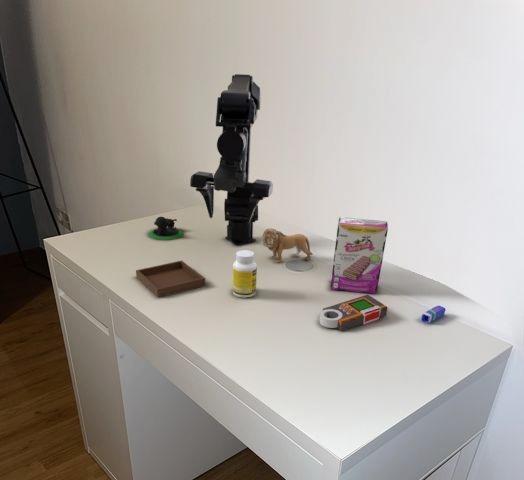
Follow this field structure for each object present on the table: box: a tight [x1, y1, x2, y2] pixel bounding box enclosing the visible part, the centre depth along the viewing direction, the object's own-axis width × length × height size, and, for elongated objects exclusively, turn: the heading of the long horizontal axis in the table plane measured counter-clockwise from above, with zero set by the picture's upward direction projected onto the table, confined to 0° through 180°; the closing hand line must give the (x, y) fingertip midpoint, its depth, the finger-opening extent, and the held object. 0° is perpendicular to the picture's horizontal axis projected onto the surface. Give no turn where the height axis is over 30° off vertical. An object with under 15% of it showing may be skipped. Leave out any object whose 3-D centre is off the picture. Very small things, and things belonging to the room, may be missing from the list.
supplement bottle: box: [232, 249, 258, 299], centre depth 123 cm, size 5×5×10 cm
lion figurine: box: [261, 228, 313, 263], centre depth 141 cm, size 15×5×9 cm, turn 113°
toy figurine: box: [148, 216, 184, 241], centre depth 155 cm, size 10×10×6 cm
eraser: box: [421, 305, 446, 324], centre depth 117 cm, size 2×6×2 cm, turn 130°
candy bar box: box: [330, 216, 389, 295], centre depth 125 cm, size 11×5×16 cm, turn 81°
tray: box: [135, 260, 206, 298], centre depth 129 cm, size 12×12×2 cm
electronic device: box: [319, 294, 388, 332], centre depth 116 cm, size 7×3×15 cm
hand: (229, 220), depth 131 cm, fingers open, 9 cm apart
